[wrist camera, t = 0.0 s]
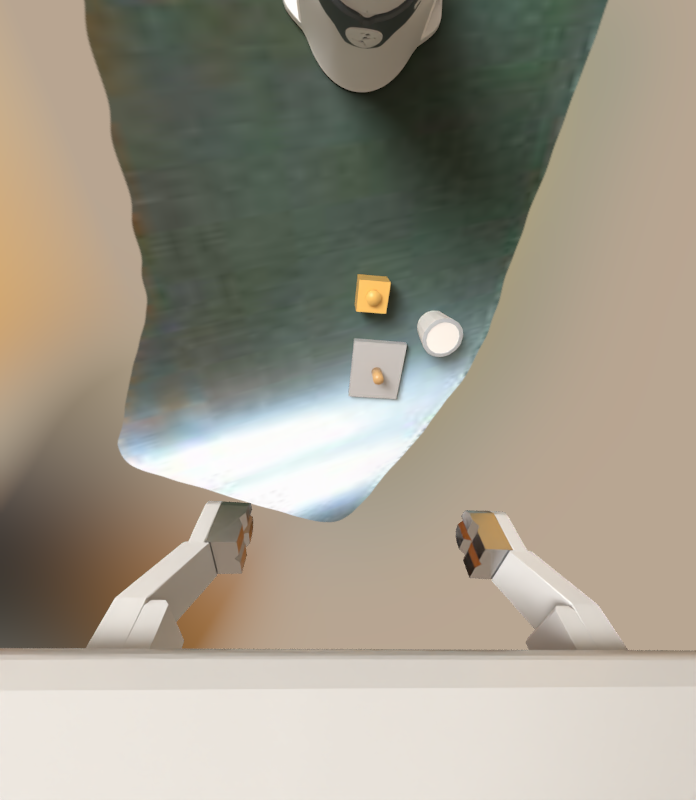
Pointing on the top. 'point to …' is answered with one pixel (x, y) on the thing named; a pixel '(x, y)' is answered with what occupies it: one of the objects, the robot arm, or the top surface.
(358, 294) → the cube with dome knob
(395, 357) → the flat gray block
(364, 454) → the top surface
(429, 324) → the white cylinder
